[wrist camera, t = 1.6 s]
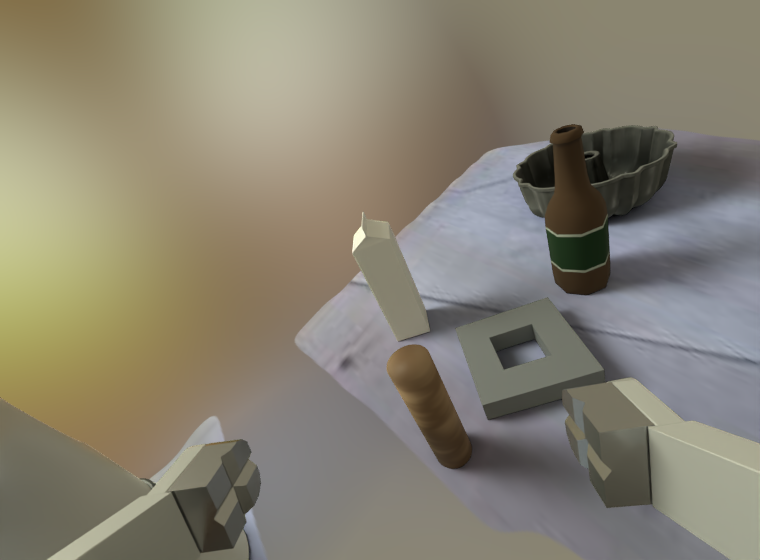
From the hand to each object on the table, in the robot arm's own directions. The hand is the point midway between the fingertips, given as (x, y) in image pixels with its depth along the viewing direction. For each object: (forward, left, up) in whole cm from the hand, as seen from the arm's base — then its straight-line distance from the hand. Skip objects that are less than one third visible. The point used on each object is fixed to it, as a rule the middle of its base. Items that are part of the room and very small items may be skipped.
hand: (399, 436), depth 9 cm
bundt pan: (+36, +62, -33) cm, 78 cm away
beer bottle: (+23, +40, -33) cm, 56 cm away
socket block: (+9, +28, -32) cm, 44 cm away
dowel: (-3, +19, -32) cm, 38 cm away
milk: (-5, +43, -33) cm, 54 cm away
